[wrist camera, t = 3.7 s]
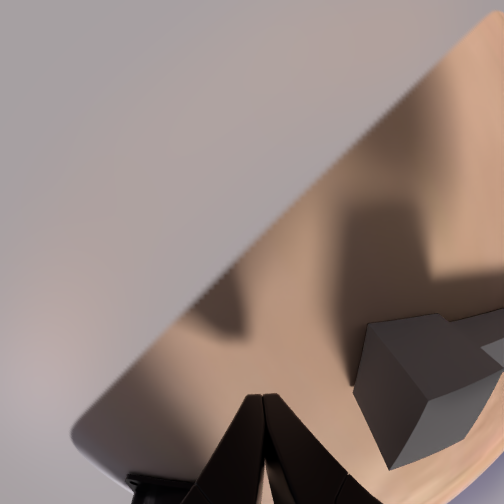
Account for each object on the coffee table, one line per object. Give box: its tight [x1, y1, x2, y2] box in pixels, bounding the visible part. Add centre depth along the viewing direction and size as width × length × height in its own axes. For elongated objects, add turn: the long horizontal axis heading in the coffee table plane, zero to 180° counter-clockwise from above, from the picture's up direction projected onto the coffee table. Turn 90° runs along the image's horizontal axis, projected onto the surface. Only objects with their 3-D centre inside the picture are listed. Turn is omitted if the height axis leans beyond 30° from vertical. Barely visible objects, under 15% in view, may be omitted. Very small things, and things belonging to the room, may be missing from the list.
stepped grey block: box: [353, 308, 504, 471], centre depth 7 cm, size 11×3×4 cm, turn 91°
